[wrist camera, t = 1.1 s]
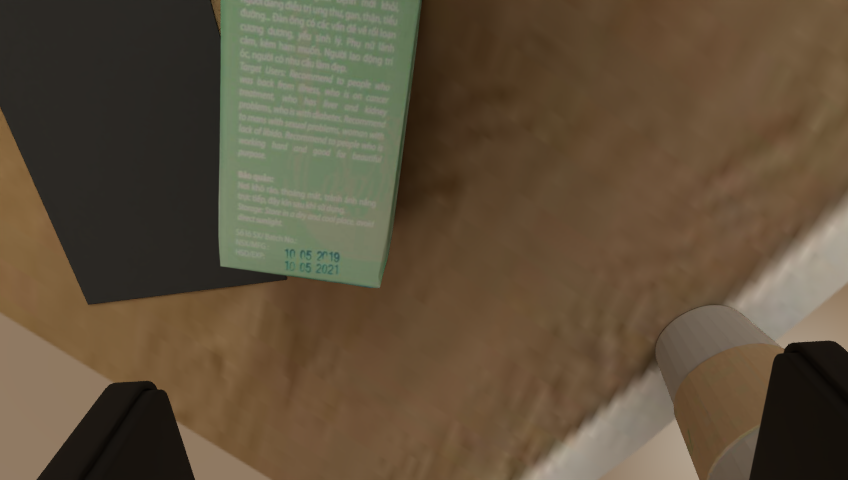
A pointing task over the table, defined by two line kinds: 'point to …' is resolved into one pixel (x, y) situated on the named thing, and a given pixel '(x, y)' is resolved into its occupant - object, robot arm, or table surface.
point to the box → (313, 134)
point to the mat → (122, 138)
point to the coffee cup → (717, 386)
